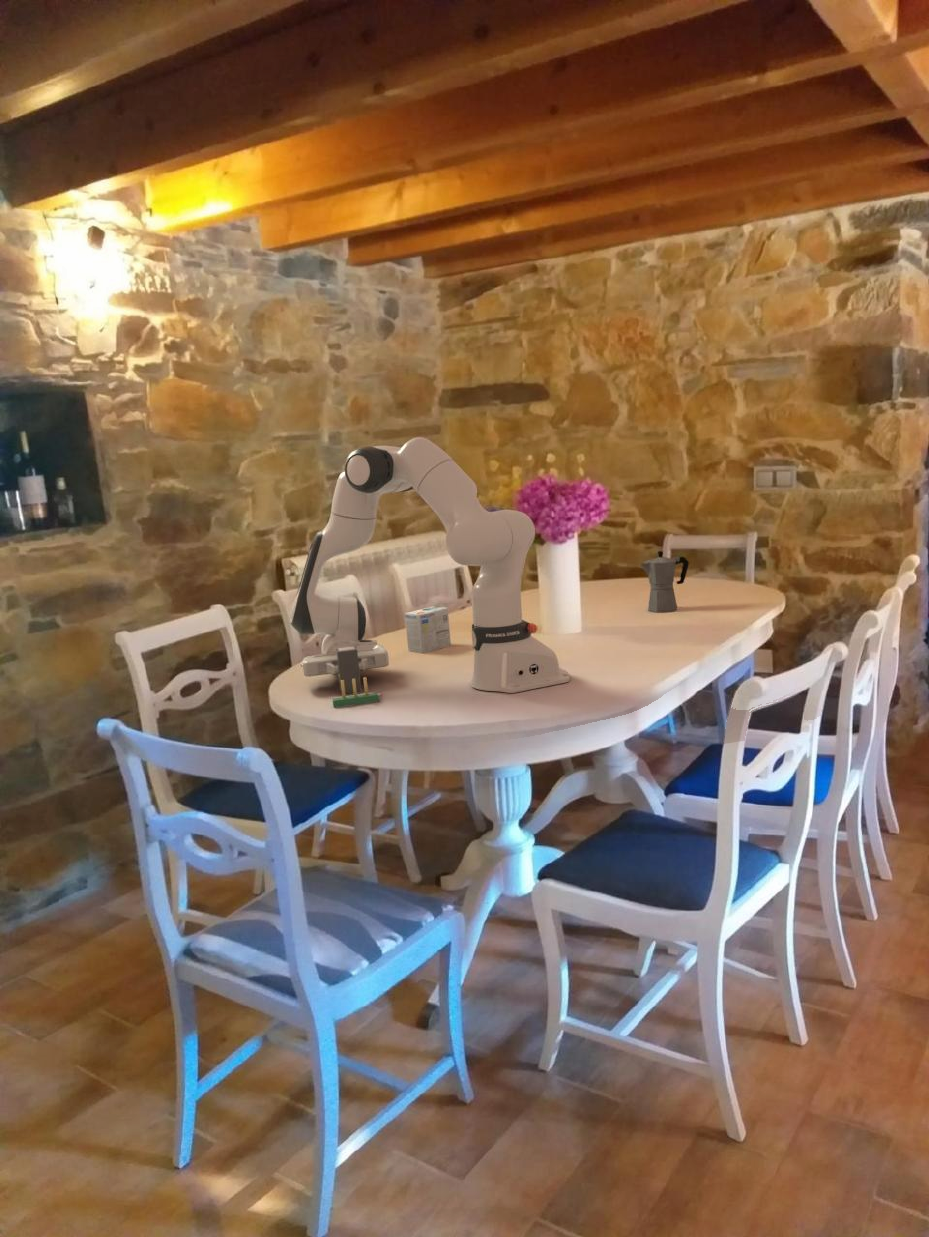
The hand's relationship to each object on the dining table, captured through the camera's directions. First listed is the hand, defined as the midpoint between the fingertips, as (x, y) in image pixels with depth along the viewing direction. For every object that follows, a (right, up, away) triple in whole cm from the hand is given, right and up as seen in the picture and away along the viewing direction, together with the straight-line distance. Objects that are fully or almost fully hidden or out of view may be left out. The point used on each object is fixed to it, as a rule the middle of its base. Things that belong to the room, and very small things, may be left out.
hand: (348, 668), depth 215 cm
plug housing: (0, -5, +2) cm, 6 cm away
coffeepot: (+88, +14, +69) cm, 113 cm away
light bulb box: (+17, +3, +41) cm, 44 cm away
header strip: (+3, -7, -9) cm, 12 cm away
